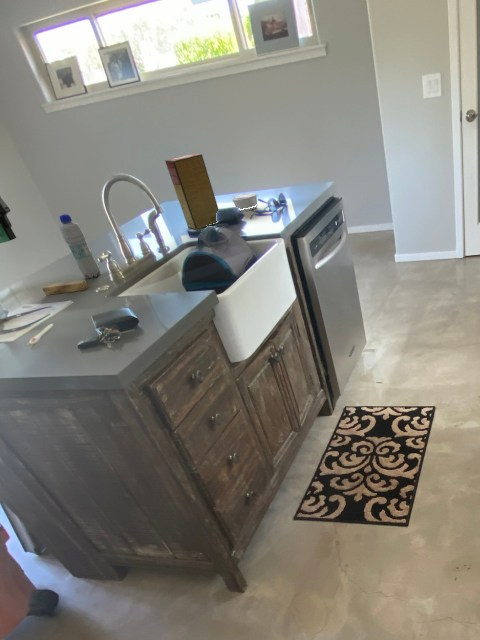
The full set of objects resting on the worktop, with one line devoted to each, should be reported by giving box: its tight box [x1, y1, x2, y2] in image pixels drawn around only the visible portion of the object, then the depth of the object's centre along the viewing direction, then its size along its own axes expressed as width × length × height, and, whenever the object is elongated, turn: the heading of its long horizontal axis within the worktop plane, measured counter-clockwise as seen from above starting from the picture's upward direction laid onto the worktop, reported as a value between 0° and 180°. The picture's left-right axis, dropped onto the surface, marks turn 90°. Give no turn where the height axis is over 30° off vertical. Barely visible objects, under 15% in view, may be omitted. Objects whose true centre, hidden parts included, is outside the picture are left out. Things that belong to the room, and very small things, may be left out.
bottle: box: [59, 213, 101, 279], centre depth 179 cm, size 7×7×20 cm
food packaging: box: [164, 153, 220, 231], centre depth 218 cm, size 13×9×25 cm
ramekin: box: [231, 192, 258, 212], centre depth 238 cm, size 11×11×5 cm
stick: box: [42, 279, 89, 296], centre depth 175 cm, size 14×3×2 cm, turn 89°
